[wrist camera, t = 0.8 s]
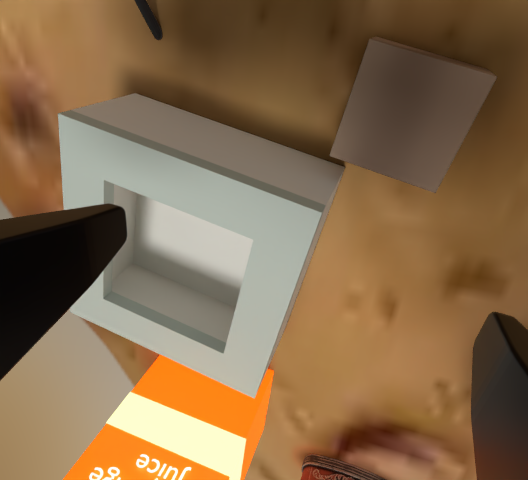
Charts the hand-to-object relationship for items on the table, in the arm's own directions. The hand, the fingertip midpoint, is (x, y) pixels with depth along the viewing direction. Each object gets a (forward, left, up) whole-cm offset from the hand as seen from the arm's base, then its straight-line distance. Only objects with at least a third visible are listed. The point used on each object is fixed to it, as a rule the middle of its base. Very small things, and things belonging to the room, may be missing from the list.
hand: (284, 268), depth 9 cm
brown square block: (-2, -2, -13) cm, 14 cm away
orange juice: (+4, +23, -13) cm, 27 cm away
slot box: (+7, +8, -13) cm, 17 cm away
